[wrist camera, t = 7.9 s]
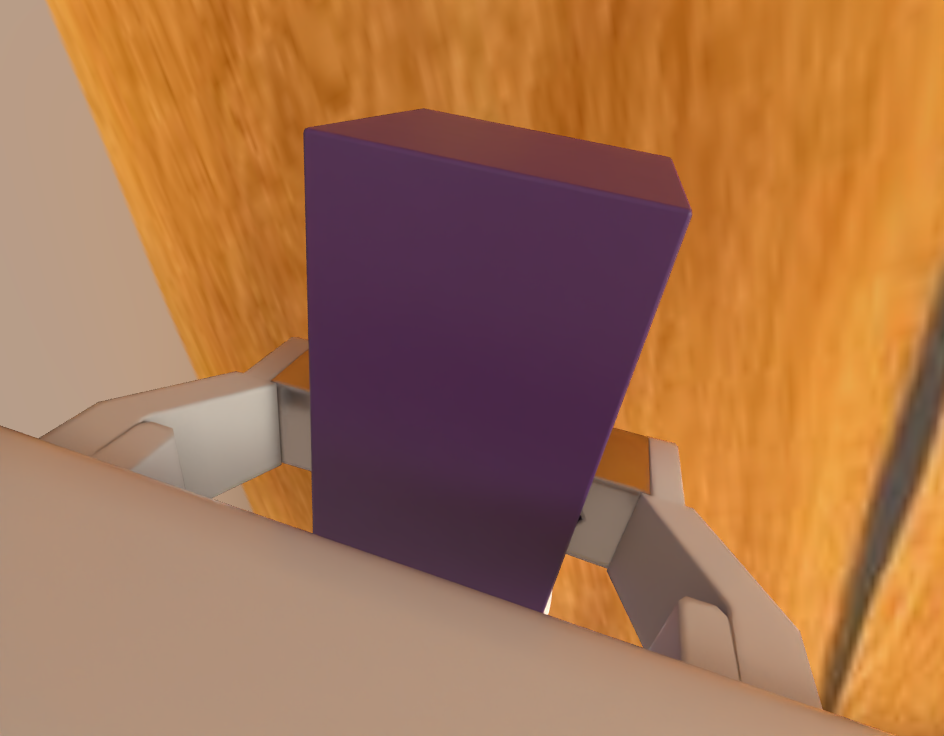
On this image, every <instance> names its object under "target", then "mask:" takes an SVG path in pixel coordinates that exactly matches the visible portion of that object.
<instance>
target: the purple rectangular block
mask: <svg viewBox="0 0 944 736" xmlns="http://www.w3.org/2000/svg"><path fill="white" fill-rule="evenodd" d="M304 175H305V217H306V259H307V301H308V342H309V384H310V426H311V468H312V510H313V534H316V535H318V536H321V537H324V538H327V539H330V540H333V541H336V542H339V543H342V544H345V545H347V546H350V547H353V548H356V549H359V550H362V551H365V552H368V553H371V554H374V555H376V556H379V557H382V558H385V559H388V560H391V561H394V562H397V563H400V564H403V565H405V566H408V567H411V568H414V569H417V570H420V571H423V572H426V573H429V574H432V575H434V576H437V577H440V578H443V579H446V580H449V581H452V582H455V583H457V584H460V585H463V586H466V587H469V588H472V589H475V590H477V591H480V592H483V593H486V594H489V595H492V596H495V597H498V598H500V599H503V600H506V601H509V602H512V603H515V604H518V605H521V606H523V607H526V608H529V609H532V610H535V611H538V612H541V613H544V610H545V608H546V605H547V602H548V600H549V597H550V594H551V592H552V589H553V586H554V584H555V581H556V578H557V576H558V573H559V570H560V568H561V565H562V562H563V559H564V557H565V554H566V551H567V549H568V546H569V543H570V541H571V538H572V535H573V533H574V530H575V527H576V525H577V522H578V519H579V517H580V514H581V511H582V509H583V506H584V503H585V501H586V498H587V495H588V493H589V490H590V487H591V485H592V482H593V479H594V477H595V474H596V471H597V469H598V466H599V463H600V460H601V458H602V455H603V452H604V450H605V447H606V444H607V442H608V439H609V436H610V434H611V431H612V428H613V426H614V423H615V420H616V418H617V415H618V412H619V410H620V407H621V404H622V402H623V399H624V396H625V394H626V391H627V388H628V386H629V383H630V380H631V378H632V375H633V372H634V370H635V367H636V364H637V361H638V359H639V356H640V353H641V351H642V348H643V345H644V343H645V340H646V337H647V335H648V332H649V329H650V327H651V324H652V321H653V319H654V316H655V313H656V311H657V308H658V305H659V303H660V300H661V297H662V295H663V292H664V289H665V287H666V284H667V281H668V279H669V276H670V273H671V271H672V268H673V265H674V262H675V260H676V257H677V254H678V252H679V249H680V246H681V244H682V241H683V238H684V236H685V233H686V230H687V228H688V225H689V222H690V220H691V217H692V209H691V207H690V204H689V202H688V199H687V197H686V194H685V192H684V189H683V187H682V184H681V182H680V179H679V176H678V174H677V171H676V169H675V166H674V164H673V161H672V159H671V158H670V157H666V156H661V155H656V154H651V153H646V152H641V151H636V150H631V149H626V148H621V147H616V146H611V145H606V144H600V143H595V142H590V141H585V140H580V139H575V138H570V137H565V136H560V135H555V134H550V133H545V132H540V131H535V130H530V129H525V128H520V127H515V126H510V125H505V124H500V123H495V122H489V121H484V120H479V119H474V118H469V117H464V116H459V115H454V114H449V113H444V112H439V111H434V110H429V109H424V108H423V109H417V110H411V111H405V112H399V113H393V114H387V115H381V116H375V117H369V118H363V119H357V120H351V121H345V122H339V123H332V124H326V125H320V126H314V127H308V128H305V129H304Z"/></svg>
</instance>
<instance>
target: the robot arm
mask: <svg viewBox="0 0 944 736" xmlns="http://www.w3.org/2000/svg"><path fill="white" fill-rule="evenodd" d="M281 462H282V463H285V464H289V465H292V466H296V467H299V468H302V469H306V470H309V471H312V468H311V426H310V384H309V342H308V340H307V339H303V338H300V337H291V338H290V339H288V340H287V341H286V342H284V343H283V344H282V345H281V346H279V347H278V348H277V349H275V350H274V351H273V352H271V353H270V354H269V355H267V356H266V357H265V358H263V359H262V360H261V361H259V362H258V363H257V364H255V365H254V366H253V367H251V368H250V369H249V370H247V371H246V372H245V373H240V372H237V371H236V372H231V373H227V374H222V375H218V376H213V377H209V378H204V379H200V380H195V381H191V382H186V383H182V384H177V385H173V386H168V387H164V388H160V389H155V390H150V391H146V392H141V393H136V394H132V395H127V396H123V397H119V398H114V399H110V400H105V401H101V402H98V403H96V404H94V405H93V406H91V407H89V408H88V409H86V410H84V411H83V412H81V413H79V414H78V415H76V416H75V417H73V418H71V419H70V420H68V421H66V422H65V423H63V424H61V425H60V426H58V427H57V428H55V429H53V430H52V431H50V432H48V433H47V434H45V435H43V436H42V437H40V438H35V437H32V436H29V435H26V434H23V433H20V432H18V431H15V430H12V429H9V428H6V427H3V426H0V736H897V735H894V734H891V733H888V732H885V731H882V730H879V729H876V728H874V727H871V726H868V725H865V724H862V723H859V722H856V721H853V720H850V719H848V718H845V717H842V716H839V715H836V714H833V713H830V712H827V711H824V710H823V709H822V706H821V702H820V699H819V695H818V692H817V689H816V685H815V682H814V678H813V675H812V671H811V668H810V664H809V661H808V658H807V654H806V651H805V647H804V644H803V640H802V637H801V634H800V631H799V630H798V629H797V628H796V626H795V625H794V624H793V623H792V622H791V621H790V619H789V618H788V617H787V616H786V615H785V614H784V613H783V611H782V610H781V609H780V608H779V607H778V606H777V604H776V603H775V602H774V601H773V600H772V599H771V597H770V596H769V595H768V594H767V593H766V592H765V591H764V589H763V588H762V587H761V586H760V585H759V584H758V582H757V581H756V580H755V579H754V578H753V577H752V576H751V574H750V573H749V572H748V571H747V570H746V569H745V567H744V566H743V565H742V564H741V563H740V562H739V561H738V559H737V558H736V557H735V556H734V555H733V554H732V552H731V551H730V550H729V549H728V548H727V547H726V545H725V544H724V543H723V542H722V541H721V540H720V539H719V537H718V536H717V535H716V534H715V533H714V532H713V530H712V529H711V528H710V527H709V526H708V525H707V524H706V522H705V521H704V520H703V519H702V518H701V517H700V515H699V514H698V513H697V512H696V511H695V510H694V509H693V508H690V507H687V506H685V501H684V493H683V484H682V476H681V468H680V459H679V451H678V446H677V445H676V444H675V443H672V442H668V441H664V440H660V439H656V438H652V437H648V436H647V437H646V436H643V435H639V434H635V433H631V432H628V431H624V430H620V429H616V428H612V431H611V434H610V436H609V439H608V442H607V444H606V447H605V450H604V452H603V455H602V458H601V460H600V463H599V466H598V469H597V471H596V474H595V477H594V479H593V482H592V485H591V487H590V490H589V493H588V495H587V498H586V501H585V503H584V506H583V509H582V511H581V514H580V517H579V519H578V522H577V525H576V527H575V530H574V533H573V535H572V538H571V541H570V543H569V546H568V549H567V551H566V554H568V555H571V556H573V557H576V558H579V559H582V560H585V561H587V562H590V563H593V564H596V565H599V566H602V567H604V568H607V572H608V574H609V576H610V579H611V581H612V583H613V585H614V587H615V589H616V591H617V593H618V595H619V597H620V600H621V602H622V604H623V606H624V608H625V610H626V612H627V614H628V616H629V618H630V621H631V623H632V625H633V627H634V629H635V631H636V633H637V635H638V637H639V639H640V642H641V644H642V646H643V648H642V647H639V646H636V645H633V644H630V643H627V642H624V641H621V640H618V639H615V638H613V637H610V636H607V635H604V634H601V633H598V632H595V631H592V630H589V629H587V628H584V627H581V626H578V625H575V624H572V623H569V622H566V621H564V620H561V619H558V618H555V617H552V616H549V615H546V614H544V613H541V612H538V611H535V610H532V609H529V608H526V607H523V606H521V605H518V604H515V603H512V602H509V601H506V600H503V599H500V598H498V597H495V596H492V595H489V594H486V593H483V592H480V591H477V590H475V589H472V588H469V587H466V586H463V585H460V584H457V583H455V582H452V581H449V580H446V579H443V578H440V577H437V576H434V575H432V574H429V573H426V572H423V571H420V570H417V569H414V568H411V567H408V566H405V565H403V564H400V563H397V562H394V561H391V560H388V559H385V558H382V557H379V556H376V555H374V554H371V553H368V552H365V551H362V550H359V549H356V548H353V547H350V546H347V545H345V544H342V543H339V542H336V541H333V540H330V539H327V538H324V537H321V536H318V535H316V534H313V533H310V532H307V531H304V530H301V529H298V528H295V527H292V526H289V525H287V524H284V523H281V522H278V521H275V520H272V519H269V518H266V517H263V516H261V515H258V514H255V513H252V512H249V511H246V510H243V509H240V508H237V507H234V506H232V505H229V504H226V503H223V502H220V501H217V500H214V499H211V498H213V497H215V496H218V495H220V494H222V493H224V492H226V491H228V490H230V489H232V488H234V487H236V486H238V485H240V484H242V483H244V482H247V481H249V480H251V479H253V478H255V477H257V476H259V475H261V474H263V473H265V472H267V471H269V470H271V469H274V468H276V467H278V466H280V465H281Z"/></svg>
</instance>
